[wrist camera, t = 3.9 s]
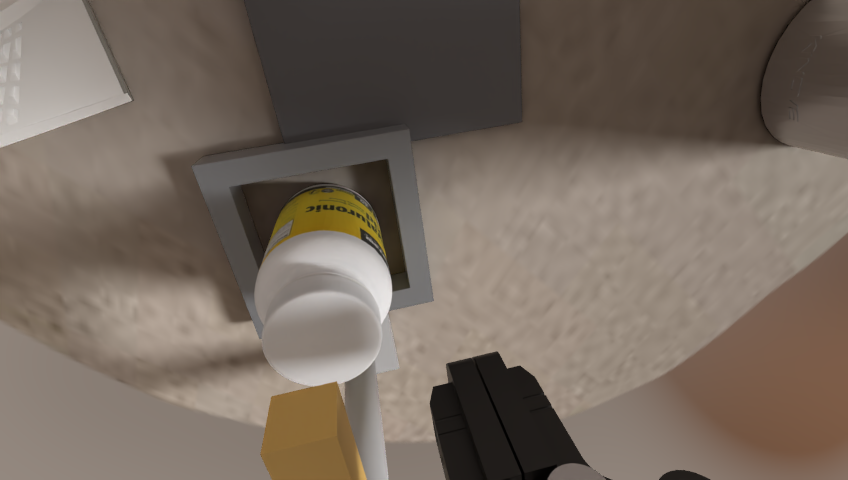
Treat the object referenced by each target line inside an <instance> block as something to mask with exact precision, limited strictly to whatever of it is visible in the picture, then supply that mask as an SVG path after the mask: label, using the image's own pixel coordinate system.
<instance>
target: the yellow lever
mask: <svg viewBox="0 0 848 480" xmlns="http://www.w3.org/2000/svg"><path fill="white" fill-rule="evenodd" d="M261 457H262V459H263V461H264V463H265V466H266V467H267V470H268V472H269V474H270V476H271V478H272V480H367V478H366V475H365V472H364V468H363V465H362V462H361V459H360V455H359V452H358V449H357V446H356V442H355V439H354V436H353V432H352V429H351V426H350V423H349V419H348V416H347V413H346V409H345V406H344V403H343V400H342V396H341V393H340V390H339V387H338V383H337V381H336V382H332V383H327V384H323V385H319V386H315V387H310V388H306V389H302V390H297V391H293V392H289V393H285V394H280V395H276V396H272V397H271V401H270V407H269V412H268V417H267V422H266V428H265V433H264V438H263V444H262V449H261Z"/></svg>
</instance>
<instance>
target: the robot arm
mask: <svg viewBox="0 0 848 480" xmlns="http://www.w3.org/2000/svg"><path fill="white" fill-rule="evenodd" d="M761 111H762V115H763V119H764V122H765V125H766V127H767V128H768V130H769V131H770V133H771V135H772V136H773V137H775V138H776V139H777V140H779V141H780V142H781V143H784V144H787V145H790V146H794V147H798V148H802V149H807V150H811V151H815V152H820V153H824V154H828V155H833V156H837V157H841V158H846V159H848V0H811V1H810V2H809V3H808V4H807V5H805V6H804V7H803V9H802V10H801V11H800V12H799V13H798V14H797V16H796V17H795V18H794V19H793V20H792V21H791V23H790V24H789V26H788V27H787V29H786V30H785V32H784V33H783V35H782V36H781V38H780V39H779V41H778V43H777V45H776V47H775V49H774V51H773V53H772V55H771V58H770V60H769V62H768V66H767V69H766V72H765V75H764V78H763V84H762V91H761ZM446 369H447V376H448V383H447V384H443V385H439V386H435V387H433V391H432V395H431V400H430V408H431V414H432V420H433V425H434V431H435V437H436V442H437V446H438V450H439V454H440V458H441V462H442V466H443V469H444V473H445V478H446V480H611V479H609V478H606V477H604V476H602V475H601V474H600V473H598V472H597V471H596V470H594V469H592V468H591V467H590V466H589V465H588V464H587V463H586V462H585V460H584V459H583V458H582V456H581V454H580V453H579V451H578V449H577V448H576V446H575V444H574V443H573V441H572V439H571V437H570V436H569V434H568V433H567V431H566V429H565V427H564V426H563V424H562V422H561V421H560V419H559V417H558V416H557V414H556V412H555V410H554V409H552V406H551V404H550V402H549V400H548V399H547V397H546V395H544V392H543V390H542V388H541V387H540V385H539V383H538V382H537V380H536V378H535V377H534V376H533V375H531V374H530V373H529V372H528V371H526V370H525V369H524V368H522V367H521V366H516V367H512V368H508V369H507V368H506V366H505V364H504V362H503V360H502V358H501V356H500V354H499V353H498V352H493V353H488V354H484V355H480V356H476V357H472V358H468V359H464V360H459V361H455V362H451V363H447V364H446ZM659 480H710V479H708V478H706V477H704V476H702V475H699V474H697V473H694V472H690V471H685V470H675V471H670V472H668V473H666V474H664V475H663V476H662V477H661V478H660V479H659Z"/></svg>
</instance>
